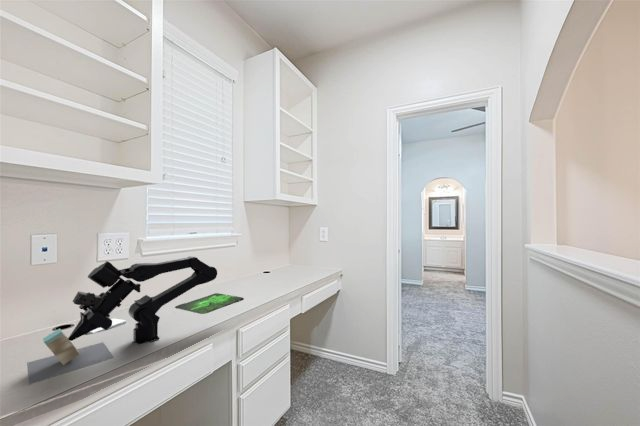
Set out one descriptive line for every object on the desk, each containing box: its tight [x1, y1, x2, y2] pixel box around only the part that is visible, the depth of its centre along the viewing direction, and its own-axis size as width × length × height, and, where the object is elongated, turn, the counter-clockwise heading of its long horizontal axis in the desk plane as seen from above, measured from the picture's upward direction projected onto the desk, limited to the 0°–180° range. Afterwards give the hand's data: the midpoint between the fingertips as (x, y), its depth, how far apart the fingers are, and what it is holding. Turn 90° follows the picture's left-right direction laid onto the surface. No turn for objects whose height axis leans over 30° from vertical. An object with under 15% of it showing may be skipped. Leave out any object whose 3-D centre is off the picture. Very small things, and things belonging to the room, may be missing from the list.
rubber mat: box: [27, 342, 115, 385], centre depth 83 cm, size 18×16×1 cm
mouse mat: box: [174, 292, 244, 315], centre depth 141 cm, size 27×22×1 cm
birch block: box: [42, 328, 79, 365], centre depth 81 cm, size 4×4×9 cm
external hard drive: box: [86, 318, 127, 335], centre depth 109 cm, size 2×8×12 cm
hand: (69, 339), depth 83 cm, fingers closed
